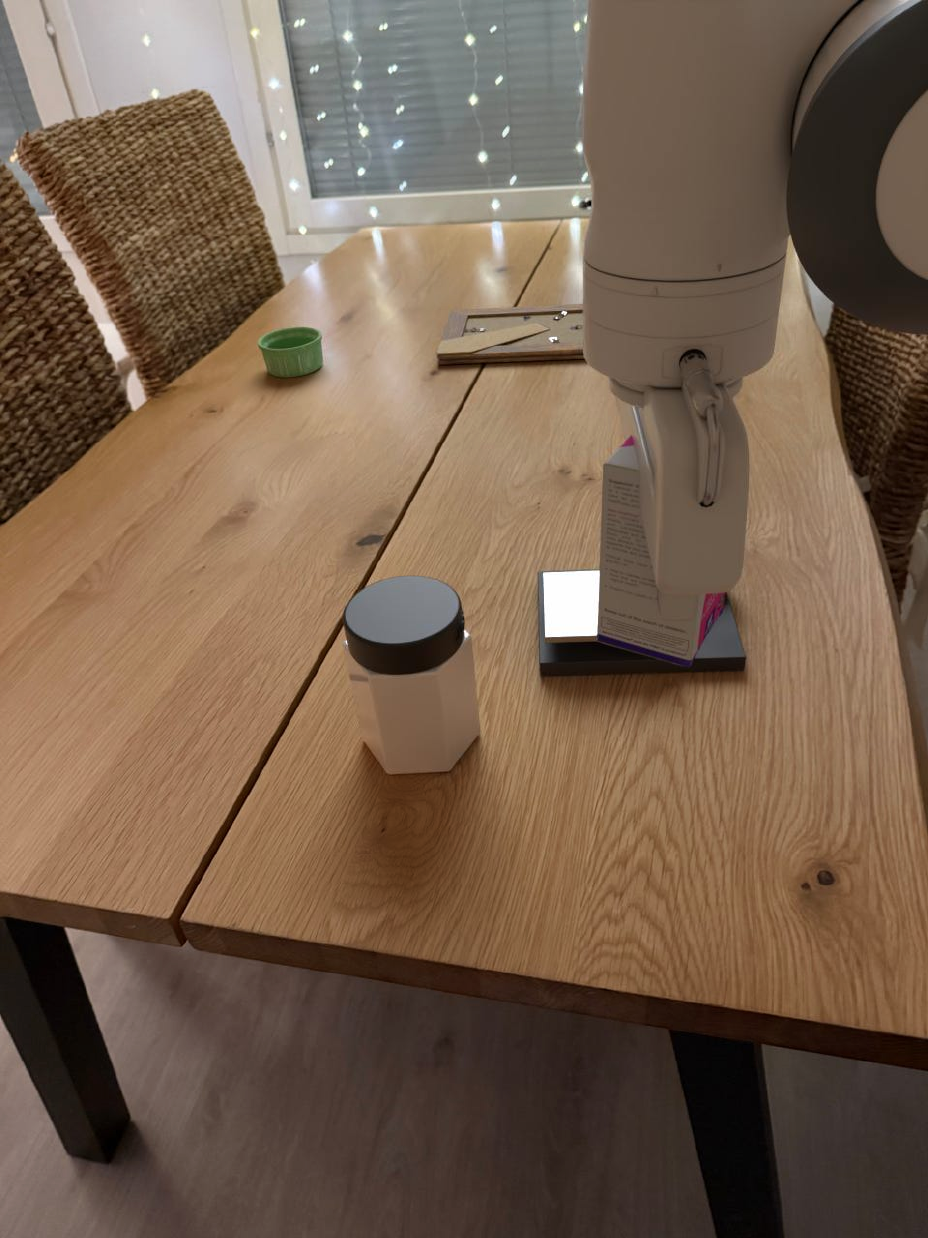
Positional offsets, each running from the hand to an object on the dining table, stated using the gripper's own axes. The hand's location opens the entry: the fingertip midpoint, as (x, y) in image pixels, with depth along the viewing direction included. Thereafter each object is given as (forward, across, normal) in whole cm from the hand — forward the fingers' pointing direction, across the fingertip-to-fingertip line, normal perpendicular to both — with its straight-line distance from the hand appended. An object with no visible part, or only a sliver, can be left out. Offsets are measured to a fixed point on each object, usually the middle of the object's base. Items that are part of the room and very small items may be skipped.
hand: (663, 565), depth 51 cm
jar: (+19, +7, +16) cm, 26 cm away
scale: (+19, +20, -1) cm, 28 cm away
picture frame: (+19, +89, +7) cm, 91 cm away
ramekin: (+20, +83, +40) cm, 95 cm away
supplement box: (+4, 0, 0) cm, 5 cm away
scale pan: (+16, +18, +2) cm, 24 cm away
